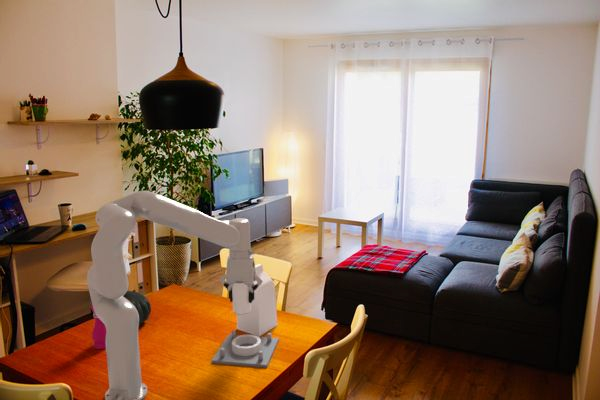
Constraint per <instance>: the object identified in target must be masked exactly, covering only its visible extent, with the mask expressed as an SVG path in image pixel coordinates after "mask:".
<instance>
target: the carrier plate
mask: <svg viewBox="0 0 600 400" xmlns="http://www.w3.org/2000/svg"><path fill="white" fill-rule="evenodd" d="M266 333H267V334H266V335H267V336H256V335H253V334H248V333H247V334H242V335H241V334H237V332H236V330H235V329H234V330H231V333H228V335H227V336H226V338H225V339H224V340H223V342H222V344H221V346H220V347H219V349H218V350H217V352H216V353H215V354H214V356H213V358H212V359H211V364H220V365H230V366H231V365H233V366H244V367H254V368H255V367H256V368H268V366H269V364H270V361H271V359H272V357H273V355H274V352H275V350H276V348H277V345H278V343H279V341H280V339H279V337H272V333H271V332H266Z"/></svg>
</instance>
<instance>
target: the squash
mask: <svg viewBox="0 0 600 400" xmlns="http://www.w3.org/2000/svg"><path fill="white" fill-rule="evenodd" d="M123 297H124V298H126V299H127V300H128V301H130V302H131V303H132V304H133V305H134V306H135V308H136V309H137V311H138V314H139V326H141V325H142V323H144V322H146V321H147V320H148V319H149V317H150V315H151V311H152V305H151V302H150V300H149V299H148V298H147V297H146V296H145V295H144V294H143V293H141V292H138V291H132V290H127V292H126V293H125V295H124V296H123Z"/></svg>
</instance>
